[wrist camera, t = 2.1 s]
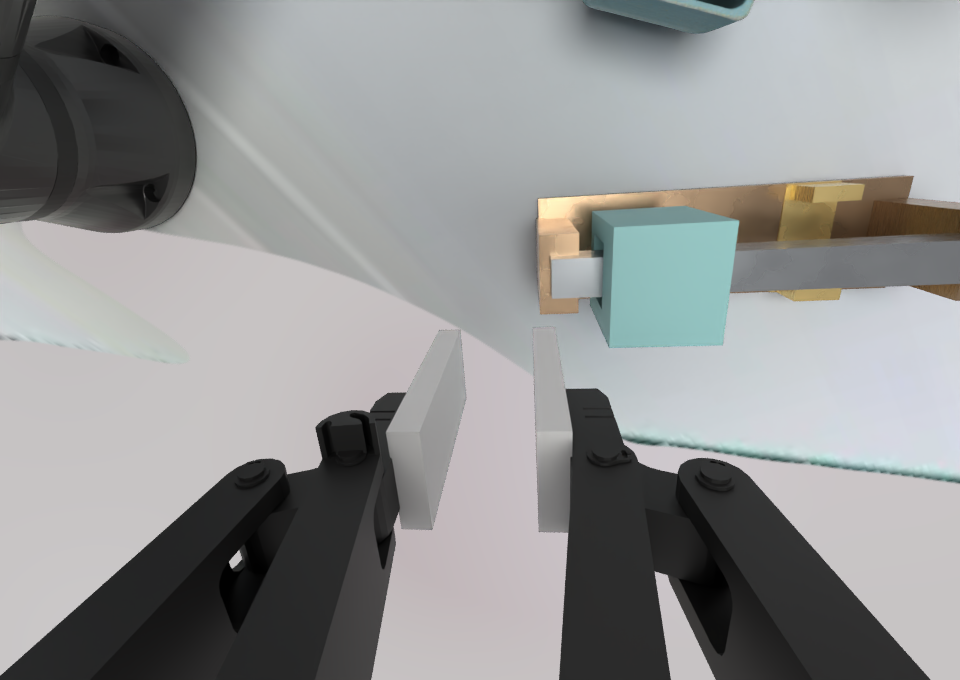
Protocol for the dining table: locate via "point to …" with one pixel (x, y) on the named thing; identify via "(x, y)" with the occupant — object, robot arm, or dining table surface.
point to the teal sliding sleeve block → (663, 276)
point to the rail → (775, 239)
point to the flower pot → (679, 12)
